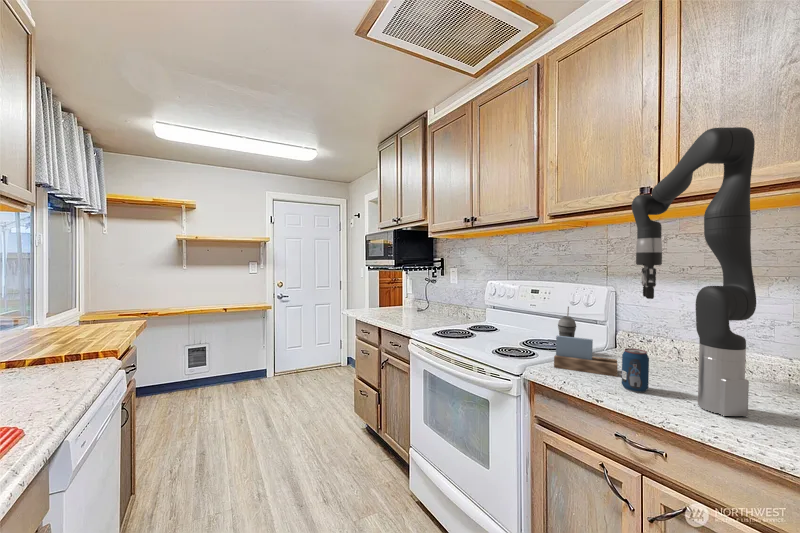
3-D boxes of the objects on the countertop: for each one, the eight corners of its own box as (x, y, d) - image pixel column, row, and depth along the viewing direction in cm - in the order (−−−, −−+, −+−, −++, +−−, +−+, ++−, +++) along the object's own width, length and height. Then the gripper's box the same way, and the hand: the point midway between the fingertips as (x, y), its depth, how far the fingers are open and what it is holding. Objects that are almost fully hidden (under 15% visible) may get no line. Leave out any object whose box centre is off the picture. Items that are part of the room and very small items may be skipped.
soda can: (638, 385, 114) (639, 347, 114) (653, 393, 107) (654, 353, 107) (616, 385, 114) (617, 347, 114) (630, 393, 107) (631, 353, 107)
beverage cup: (572, 350, 157) (572, 305, 156) (578, 355, 149) (579, 307, 149) (554, 350, 157) (555, 304, 157) (560, 354, 150) (561, 307, 150)
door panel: (592, 366, 130) (592, 339, 130) (591, 368, 128) (592, 340, 128) (556, 361, 136) (556, 335, 136) (555, 362, 134) (556, 336, 134)
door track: (616, 370, 129) (616, 359, 129) (617, 376, 122) (617, 365, 122) (556, 362, 139) (556, 351, 139) (553, 367, 132) (554, 356, 132)
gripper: (665, 250, 117) (664, 300, 118) (658, 252, 130) (658, 296, 130) (638, 251, 121) (637, 298, 121) (634, 252, 133) (633, 295, 134)
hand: (648, 297), depth 126 cm, fingers open, 8 cm apart
